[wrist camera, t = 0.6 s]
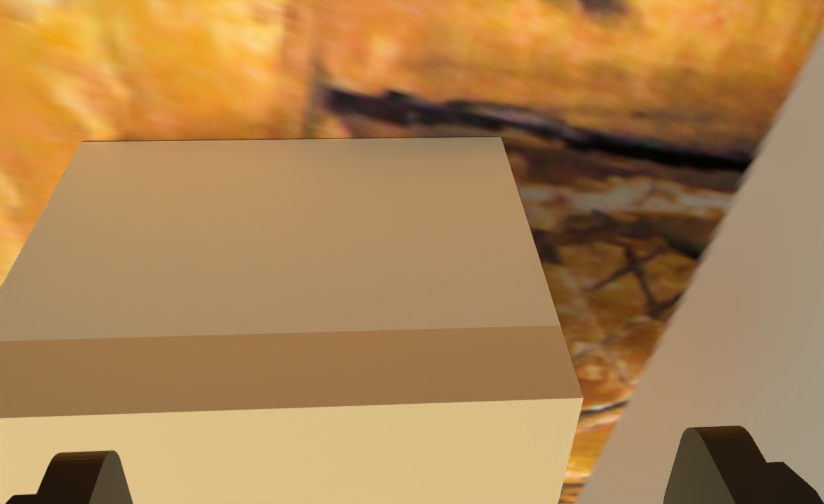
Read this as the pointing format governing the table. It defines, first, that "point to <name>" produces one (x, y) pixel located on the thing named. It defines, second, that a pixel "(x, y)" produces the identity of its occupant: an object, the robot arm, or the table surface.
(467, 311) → the under counter shelf
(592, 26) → the table surface
